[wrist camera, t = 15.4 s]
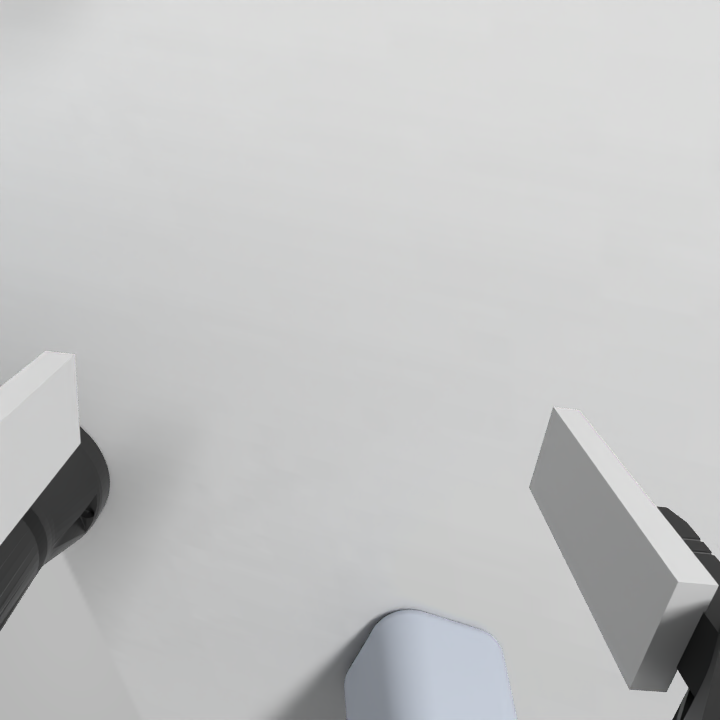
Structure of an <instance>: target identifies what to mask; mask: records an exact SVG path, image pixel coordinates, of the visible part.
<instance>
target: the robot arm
mask: <svg viewBox="0 0 720 720" xmlns="http://www.w3.org/2000/svg"><path fill="white" fill-rule="evenodd" d="M109 487H110V479H109V472H108V468H107V464H106V462H105V459H104V457H103V455H102V453H101V451H100V449H99V448H98V446H97V445H96V443H95V442H94V441H93V439H92V438H91V437H90V436H89V435H88V434H87V433H86V432H85V431H84V430H83V429H82V428H81V427H80V425H79V408H78V391H77V375H76V358H75V354H71V353H62V352H53V351H44V352H43V353H42V354H41V355H39V356H38V357H37V358H36V359H34V360H33V361H32V362H31V363H29V364H28V365H27V366H26V367H24V368H23V369H22V370H21V371H20V372H18V373H17V374H16V375H15V376H13V377H12V378H11V379H10V380H8V381H7V382H6V383H5V384H3V385H2V386H1V387H0V631H1V629H2V628H3V626H4V625H5V623H6V621H7V619H8V618H9V617H10V615H11V614H12V612H13V610H14V609H15V607H16V606H17V604H18V603H19V601H20V600H21V598H22V596H23V595H24V593H25V592H26V590H27V589H28V587H29V585H30V584H31V582H32V581H33V579H34V578H35V576H36V575H37V573H38V571H39V570H40V569H41V567H42V566H43V565H44V564H46V563H47V562H48V561H50V560H51V559H52V558H54V557H55V556H57V555H58V554H60V553H61V552H62V551H64V550H65V549H66V548H68V547H69V546H70V545H72V544H73V543H75V542H76V541H77V540H79V539H80V538H81V537H82V536H83V535H84V534H85V533H86V532H87V531H88V530H89V529H90V528H91V527H92V525H93V524H94V522H95V521H96V519H97V518H98V516H99V514H100V513H101V511H102V509H103V508H104V506H105V503H106V501H107V498H108V494H109ZM529 488H530V490H531V492H532V494H533V496H534V498H535V500H536V502H537V504H538V506H539V508H540V510H541V512H542V514H543V516H544V518H545V520H546V522H547V524H548V526H549V528H550V530H551V532H552V534H553V537H554V539H555V541H556V543H557V545H558V547H559V549H560V551H561V553H562V555H563V557H564V559H565V561H566V563H567V565H568V567H569V569H570V571H571V573H572V575H573V577H574V579H575V581H576V583H577V585H578V587H579V589H580V591H581V593H582V595H583V597H584V599H585V601H586V603H587V605H588V607H589V609H590V611H591V613H592V615H593V617H594V619H595V621H596V623H597V625H598V627H599V629H600V631H601V633H602V635H603V637H604V639H605V641H606V643H607V645H608V647H609V649H610V651H611V653H612V655H613V657H614V659H615V661H616V663H617V665H618V668H619V670H620V672H621V674H622V676H623V678H624V680H625V682H626V684H627V686H628V688H629V689H631V690H645V691H659V692H667V690H668V688H669V686H670V684H671V682H672V680H673V678H674V676H675V674H676V672H677V670H678V671H679V673H680V674H681V676H682V678H683V679H684V681H685V683H686V684H687V686H688V690H687V692H686V694H685V696H684V698H683V700H682V702H681V704H680V706H679V708H678V710H677V712H676V714H675V716H674V718H673V720H720V562H719V560H718V559H717V558H716V557H715V556H714V555H711V551H710V550H709V548H708V547H707V546H706V545H705V544H704V542H701V541H700V538H699V536H698V535H697V534H696V533H695V532H694V530H693V529H692V528H691V527H690V526H689V524H688V523H687V522H685V521H684V520H683V519H681V518H680V517H679V516H677V515H676V514H675V513H673V512H672V511H671V510H669V509H668V508H666V507H656V506H655V504H654V503H653V502H652V501H651V499H650V498H649V497H648V495H647V494H646V493H645V492H644V490H643V489H642V488H641V487H640V485H639V484H638V483H637V482H636V480H635V479H634V478H633V477H632V475H631V474H630V473H629V472H628V470H627V469H626V468H625V467H624V465H623V464H622V463H621V461H620V460H619V459H618V458H617V456H616V455H615V454H614V453H613V451H612V450H611V449H610V448H609V446H608V445H607V444H606V443H605V441H604V440H603V439H602V438H601V436H600V435H599V434H598V432H597V431H596V430H595V429H594V427H593V426H592V425H591V424H590V422H589V421H588V420H587V419H586V417H585V416H584V415H583V414H582V412H581V411H580V410H578V409H569V408H560V407H553V410H552V413H551V416H550V420H549V423H548V426H547V430H546V433H545V436H544V440H543V443H542V446H541V450H540V453H539V456H538V460H537V463H536V466H535V470H534V473H533V476H532V480H531V483H530V486H529Z"/></svg>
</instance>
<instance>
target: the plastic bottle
mask: <svg viewBox="0 0 720 720" xmlns="http://www.w3.org/2000/svg"><path fill="white" fill-rule="evenodd" d="M344 691H345V704H346V717H347V720H517V715H516V710H515V706H514V701H513V696H512V692H511V687H510V682H509V678H508V673H507V668H506V664H505V659H504V654H503V651H502V648H501V646H500V644H499V643H498V641H497V640H496V639H495V638H494V637H493V636H492V635H490V634H489V633H487V632H485V631H483V630H481V629H478V628H475V627H472V626H468V625H465V624H462V623H459V622H455V621H452V620H449V619H446V618H443V617H439V616H436V615H433V614H430V613H427V612H423V611H419V610H401V611H397V612H394V613H391V614H389V615H387V616H385V617H384V618H383V619H381V620H380V621H379V622H378V623H377V624H376V625H375V627H374V628H373V630H372V632H371V633H370V635H369V637H368V638H367V640H366V642H365V644H364V645H363V647H362V649H361V650H360V652H359V654H358V655H357V657H356V659H355V660H354V662H353V664H352V665H351V667H350V669H349V670H348V672H347V674H346V677H345V682H344Z"/></svg>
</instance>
